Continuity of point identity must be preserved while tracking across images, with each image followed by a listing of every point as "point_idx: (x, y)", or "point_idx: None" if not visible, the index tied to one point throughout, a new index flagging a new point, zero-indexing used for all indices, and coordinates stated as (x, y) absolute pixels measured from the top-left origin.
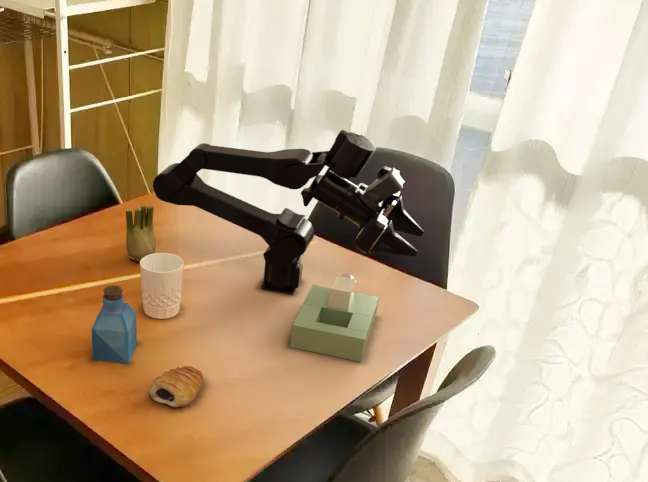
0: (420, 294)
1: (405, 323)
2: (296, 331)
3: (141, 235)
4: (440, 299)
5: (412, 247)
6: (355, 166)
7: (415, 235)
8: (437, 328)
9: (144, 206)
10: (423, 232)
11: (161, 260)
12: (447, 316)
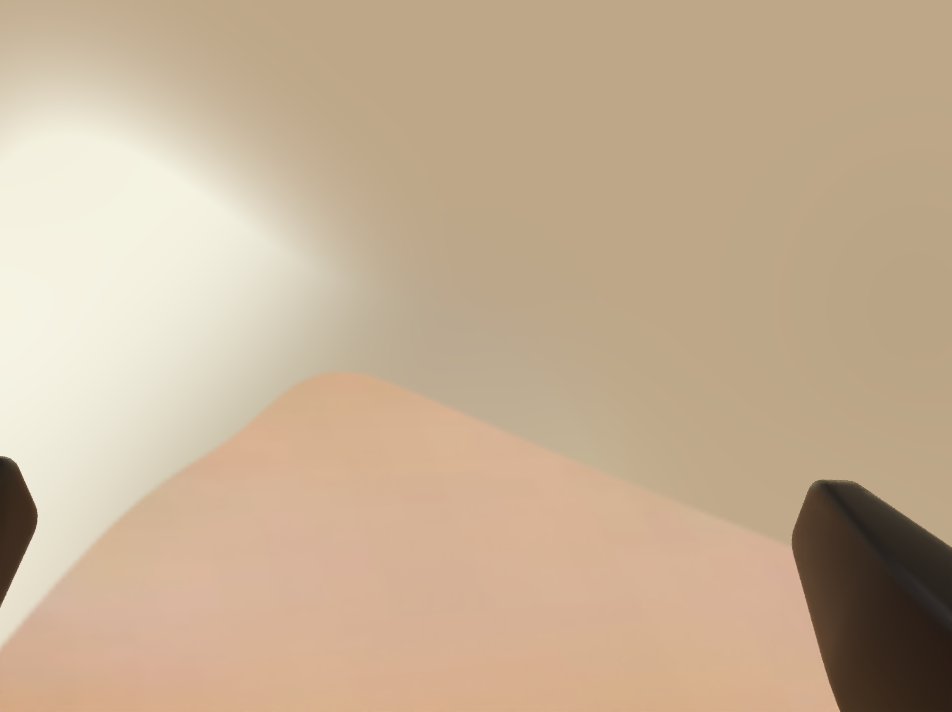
0: (198, 606)
1: (614, 665)
2: None
3: None
4: (244, 488)
5: (934, 547)
6: None
7: (3, 597)
8: (586, 485)
9: None
10: (11, 460)
11: None
12: (435, 445)
